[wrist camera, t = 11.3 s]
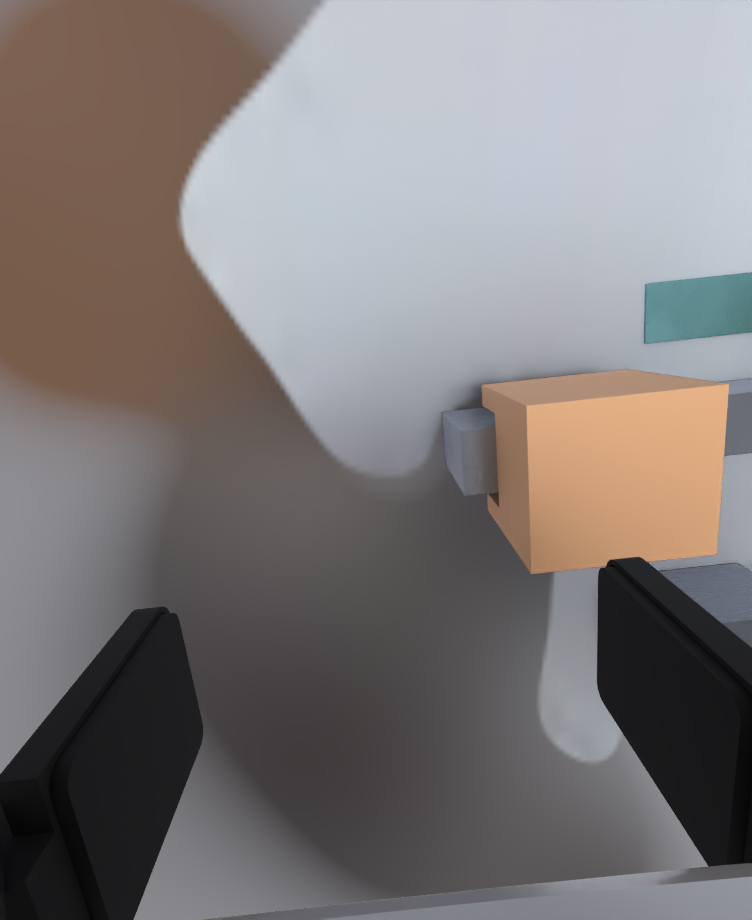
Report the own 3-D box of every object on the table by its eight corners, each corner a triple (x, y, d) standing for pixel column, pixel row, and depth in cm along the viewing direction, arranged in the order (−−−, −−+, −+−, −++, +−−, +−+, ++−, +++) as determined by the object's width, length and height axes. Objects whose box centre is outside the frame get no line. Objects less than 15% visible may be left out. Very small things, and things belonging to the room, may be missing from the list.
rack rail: (800, 443, 28) (964, 486, 21) (446, 481, 28) (477, 538, 21) (819, 265, 26) (1013, 237, 18) (434, 307, 26) (463, 297, 18)
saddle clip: (625, 495, 26) (716, 554, 19) (487, 510, 26) (531, 574, 19) (627, 368, 24) (729, 383, 17) (481, 384, 24) (526, 406, 17)
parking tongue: (734, 607, 31) (810, 665, 26) (603, 621, 31) (654, 681, 26) (737, 562, 30) (817, 612, 25) (604, 577, 30) (655, 629, 25)
